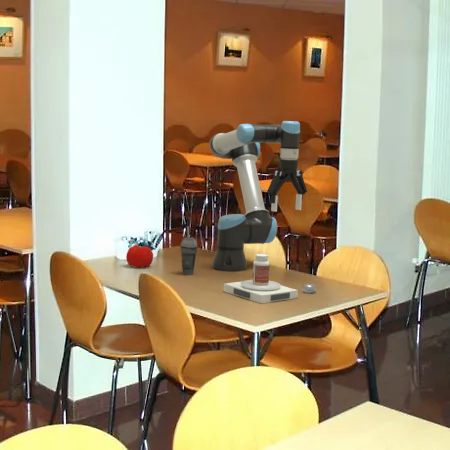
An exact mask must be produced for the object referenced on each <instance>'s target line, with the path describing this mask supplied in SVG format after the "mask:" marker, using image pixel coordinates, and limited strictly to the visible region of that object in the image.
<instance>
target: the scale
mask: <svg viewBox="0 0 450 450" xmlns="http://www.w3.org/2000/svg"><path fill="white" fill-rule="evenodd" d="M223 292H225V293H228V294H231V295H234V296H237V297H239V298H243V299H245V300H249V301H252V302H255V303H258V304H262V305H263V304H268V303H274V302H281V301H287V300H294V299H298V295H299V294H298V293H299V290H298V289H294V288H291V287H287V286H284V285H282V284H281V283H280V282H277V281H273V280H269V284H267V285H256V284H253V279H247V280H246V279H245V280H242V281H235V282H227V283H224V284H223Z"/></svg>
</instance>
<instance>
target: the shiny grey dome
mask: <svg viewBox="0 0 450 450" xmlns="http://www.w3.org/2000/svg"><path fill="white" fill-rule="evenodd" d="M316 288H317V286H316V284H314V283H303V284H302V293H303V294H307V295H311V294H312V295H314V294H316V292H317V289H316ZM313 293H314V294H313Z"/></svg>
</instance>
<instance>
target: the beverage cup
mask: <svg viewBox="0 0 450 450" xmlns="http://www.w3.org/2000/svg"><path fill="white" fill-rule="evenodd" d="M186 229H187V236H186V237H184V238H183V239H182V241H181V243H180V252H181V268H182V269H181V271H182V274H183V275H185V276H192V275H194V273H195V272H194V271H195V267H196V265H195V264H196V257H197V252H198V243H197V240H196V239H195V238H194V237H191V236H190V233H189V231H190V228H189V226H187V228H186Z"/></svg>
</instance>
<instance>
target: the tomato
mask: <svg viewBox="0 0 450 450" xmlns="http://www.w3.org/2000/svg"><path fill="white" fill-rule="evenodd" d="M125 257H126V263H127V264H128V265H129V266H130V267H135V268H138V269H141V268H148V267H149V266H151V264H153V261H154V253H153V250H152V249H151V248H150V247H148V246H143V245H142V246H140V245H137V244H134V245H132V246H130V247H129V248H128V250H127V253H126V256H125Z"/></svg>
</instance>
